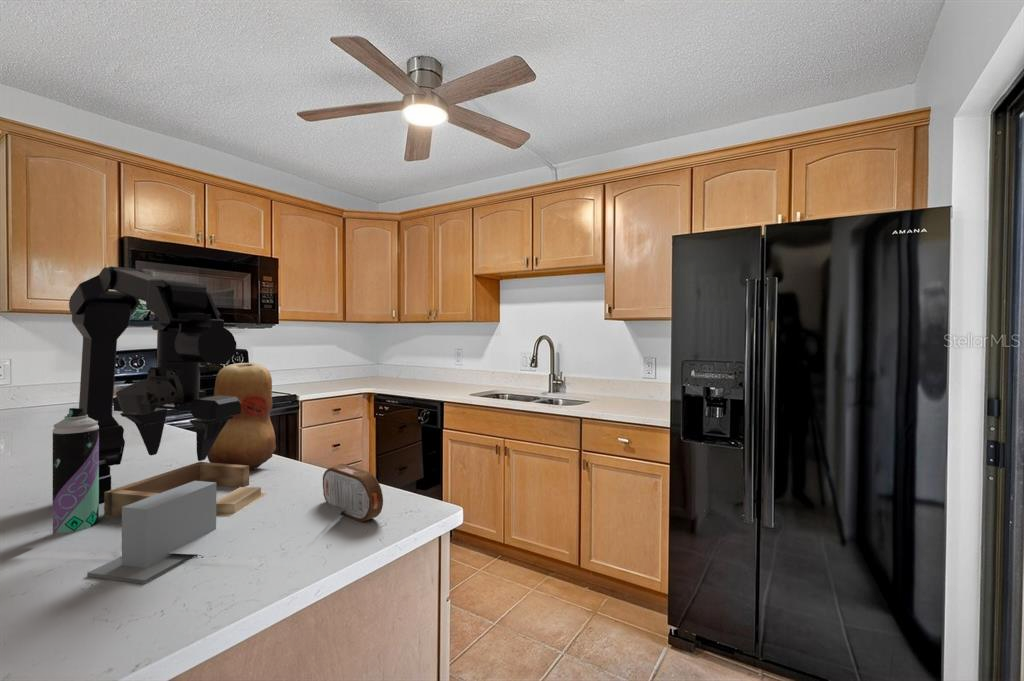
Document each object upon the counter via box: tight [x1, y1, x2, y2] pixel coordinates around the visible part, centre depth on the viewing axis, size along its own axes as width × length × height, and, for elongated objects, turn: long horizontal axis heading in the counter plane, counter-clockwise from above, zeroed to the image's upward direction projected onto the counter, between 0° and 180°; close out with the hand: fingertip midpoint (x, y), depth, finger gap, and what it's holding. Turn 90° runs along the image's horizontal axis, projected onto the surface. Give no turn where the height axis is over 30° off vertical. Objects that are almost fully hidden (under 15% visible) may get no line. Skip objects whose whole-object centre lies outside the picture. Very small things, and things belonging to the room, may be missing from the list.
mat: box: [86, 553, 198, 585], centre depth 71 cm, size 9×17×1 cm, turn 169°
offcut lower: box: [216, 492, 269, 518], centre depth 88 cm, size 5×12×2 cm, turn 177°
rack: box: [103, 461, 250, 518], centre depth 90 cm, size 12×20×5 cm, turn 169°
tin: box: [322, 463, 384, 523], centre depth 87 cm, size 15×3×8 cm, turn 53°
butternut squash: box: [206, 362, 277, 471], centre depth 111 cm, size 14×13×25 cm
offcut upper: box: [216, 486, 262, 514], centre depth 88 cm, size 4×9×2 cm, turn 1°
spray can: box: [52, 407, 100, 535], centre depth 77 cm, size 6×6×20 cm
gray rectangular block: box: [121, 481, 217, 568], centre depth 71 cm, size 4×12×8 cm, turn 169°
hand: (177, 457), depth 77 cm, fingers open, 9 cm apart
